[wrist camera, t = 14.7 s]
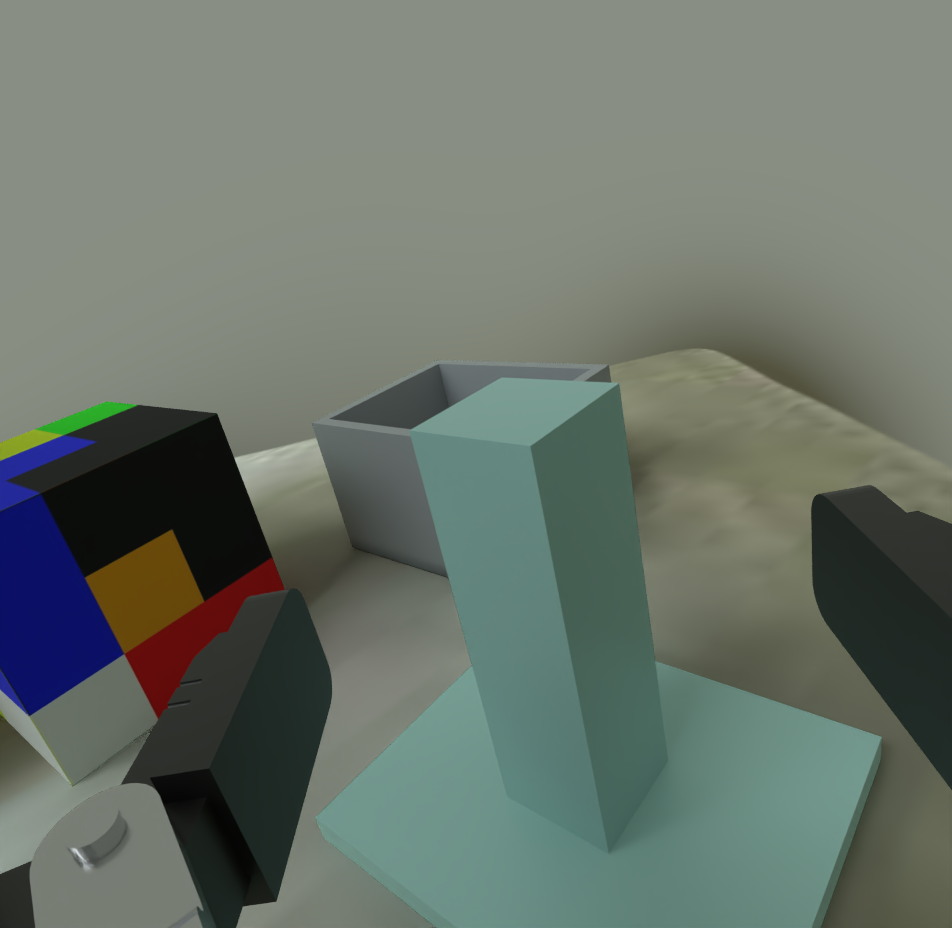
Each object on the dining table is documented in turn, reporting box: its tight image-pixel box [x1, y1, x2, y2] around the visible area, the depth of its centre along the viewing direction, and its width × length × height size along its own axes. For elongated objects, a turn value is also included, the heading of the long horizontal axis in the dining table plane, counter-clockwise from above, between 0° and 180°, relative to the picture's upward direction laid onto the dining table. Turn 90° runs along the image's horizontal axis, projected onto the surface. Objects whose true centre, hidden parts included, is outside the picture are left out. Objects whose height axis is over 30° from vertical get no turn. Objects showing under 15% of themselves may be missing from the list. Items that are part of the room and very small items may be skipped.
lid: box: [315, 377, 882, 928], centre depth 17 cm, size 12×10×12 cm
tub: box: [312, 360, 611, 577], centre depth 33 cm, size 11×9×7 cm
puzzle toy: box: [0, 402, 285, 786], centre depth 28 cm, size 10×10×10 cm
